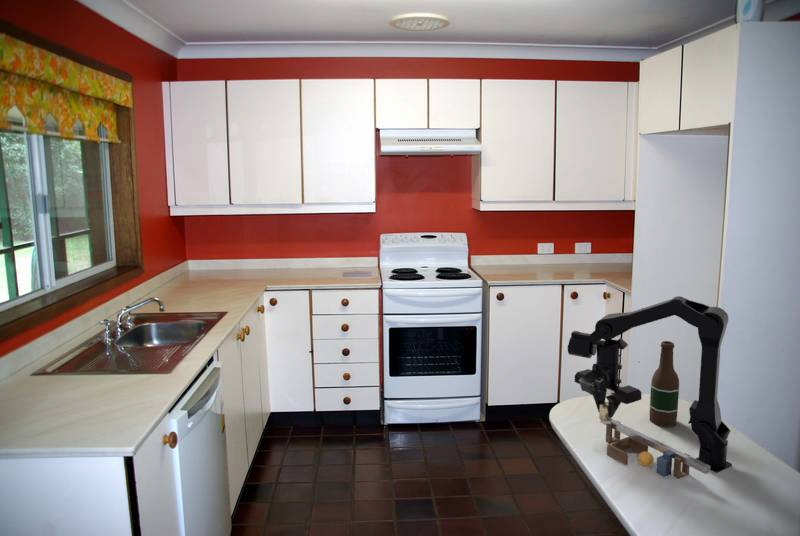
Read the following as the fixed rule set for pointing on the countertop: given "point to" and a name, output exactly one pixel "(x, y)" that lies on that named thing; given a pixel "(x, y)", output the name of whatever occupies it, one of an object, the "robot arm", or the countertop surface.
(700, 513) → the countertop surface
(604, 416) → the rod
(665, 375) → the beer bottle
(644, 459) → the ball
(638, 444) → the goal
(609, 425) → the block
